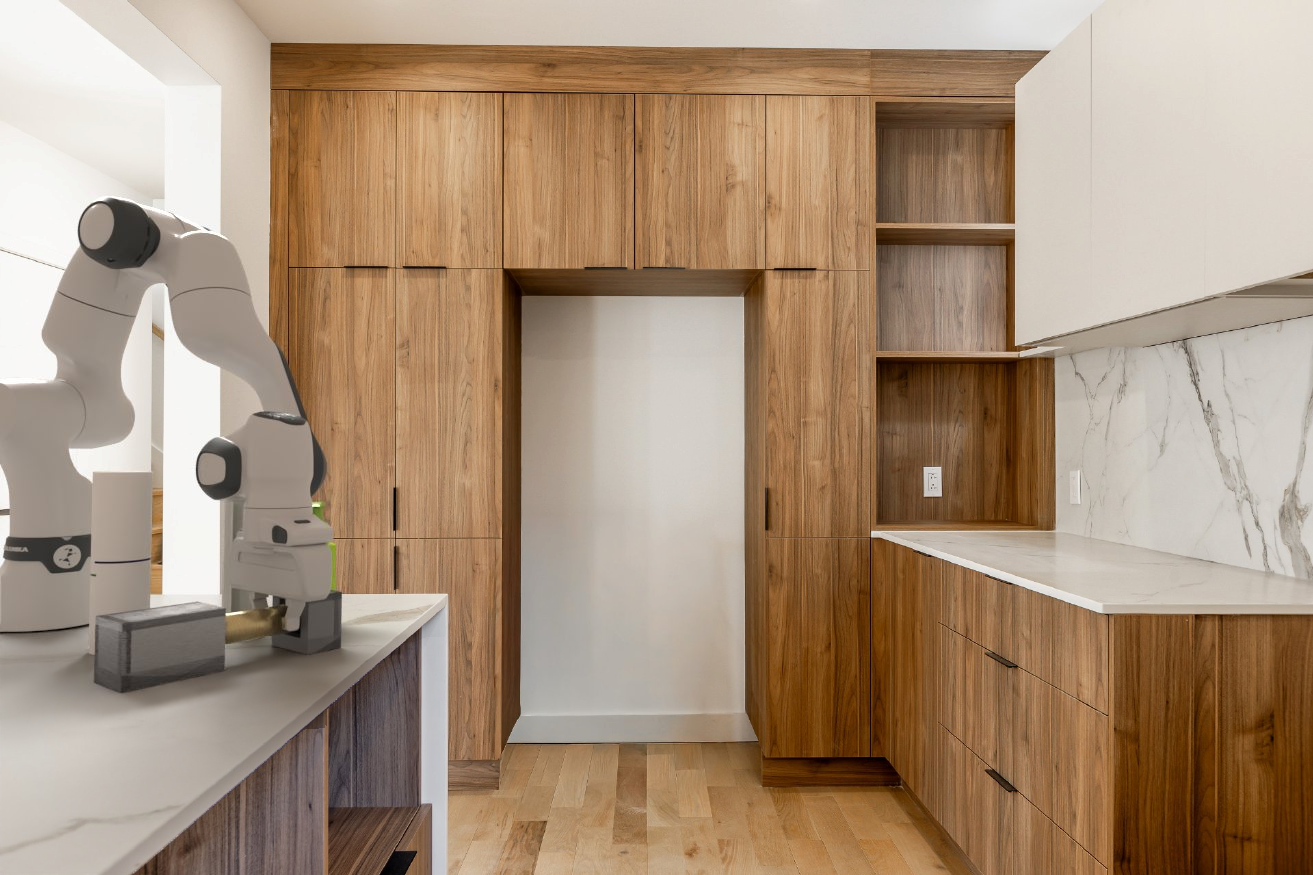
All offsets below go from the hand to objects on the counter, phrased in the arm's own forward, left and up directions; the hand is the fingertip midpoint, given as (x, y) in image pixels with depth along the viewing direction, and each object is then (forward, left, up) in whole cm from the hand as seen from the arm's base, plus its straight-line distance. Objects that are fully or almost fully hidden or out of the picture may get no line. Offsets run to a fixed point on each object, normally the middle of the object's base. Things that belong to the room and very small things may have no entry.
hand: (276, 626), depth 114 cm
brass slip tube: (0, -3, -1) cm, 4 cm away
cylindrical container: (-19, -12, -4) cm, 23 cm away
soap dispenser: (-11, +13, -4) cm, 17 cm away
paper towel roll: (-17, +4, -4) cm, 18 cm away
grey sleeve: (0, -15, -4) cm, 15 cm away
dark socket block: (0, +5, -4) cm, 6 cm away
